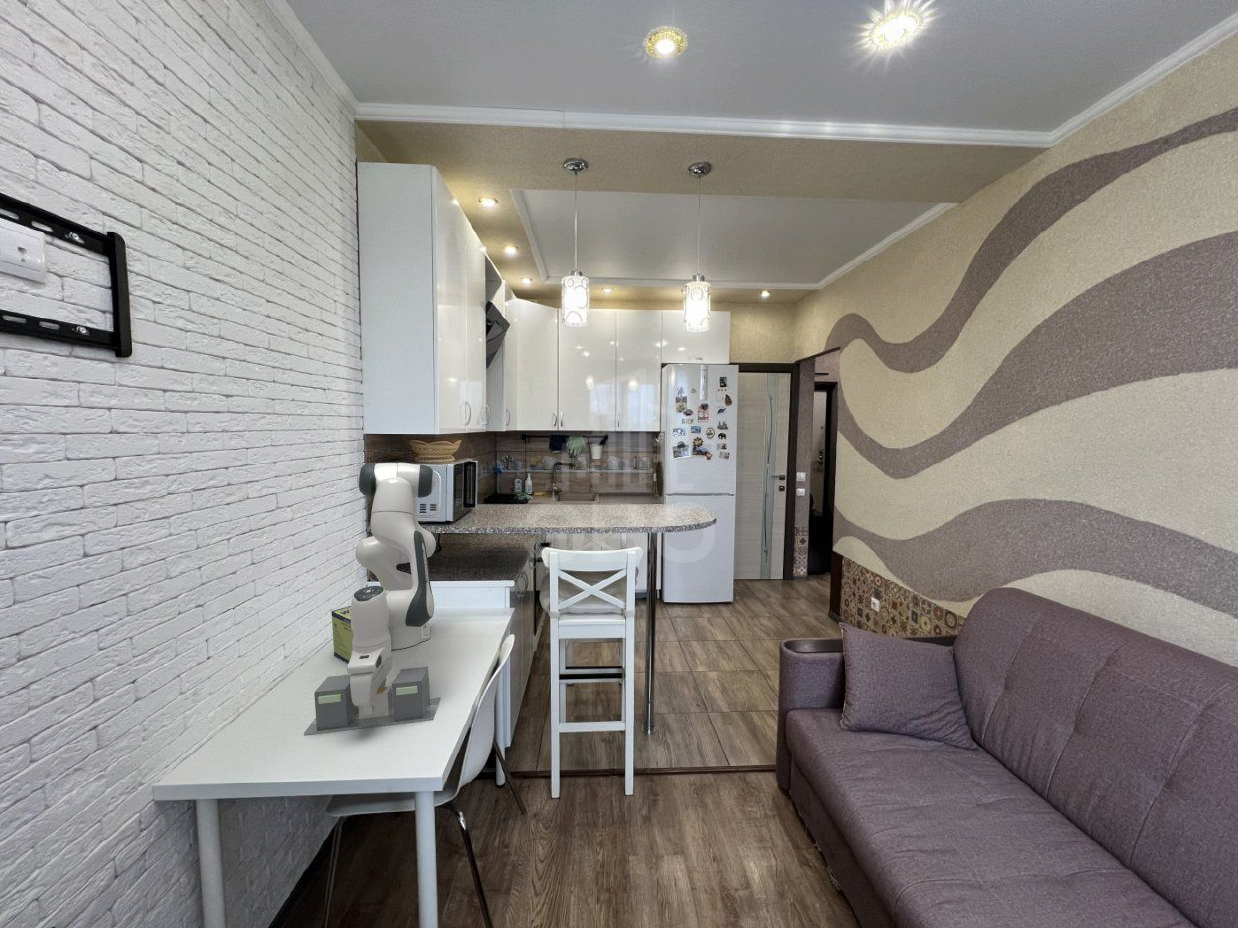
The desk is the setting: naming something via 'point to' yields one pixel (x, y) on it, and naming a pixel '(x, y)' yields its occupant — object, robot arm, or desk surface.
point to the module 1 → (334, 702)
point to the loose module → (379, 704)
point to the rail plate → (376, 720)
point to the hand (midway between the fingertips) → (375, 703)
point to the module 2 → (411, 693)
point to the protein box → (342, 633)
